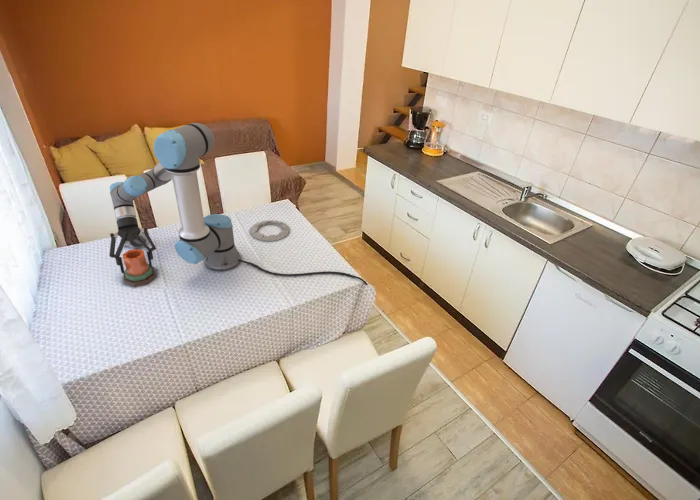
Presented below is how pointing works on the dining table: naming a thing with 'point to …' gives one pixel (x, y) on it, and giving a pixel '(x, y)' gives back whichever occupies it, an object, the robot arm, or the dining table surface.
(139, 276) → the sage ring
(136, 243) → the grey flanged cylinder
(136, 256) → the orange hollow faceted cylinder
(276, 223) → the ring
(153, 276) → the walnut ring
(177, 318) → the dining table surface
